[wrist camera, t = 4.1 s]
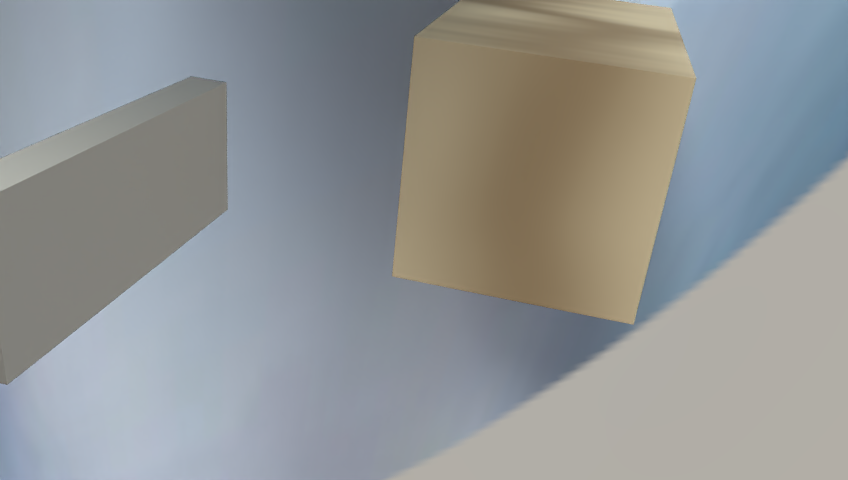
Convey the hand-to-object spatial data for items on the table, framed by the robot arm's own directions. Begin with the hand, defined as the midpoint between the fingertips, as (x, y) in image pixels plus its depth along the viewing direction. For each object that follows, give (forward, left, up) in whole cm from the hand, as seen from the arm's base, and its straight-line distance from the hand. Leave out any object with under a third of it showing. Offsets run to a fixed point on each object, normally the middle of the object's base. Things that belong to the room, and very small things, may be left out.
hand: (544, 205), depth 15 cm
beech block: (0, 0, -8) cm, 8 cm away
